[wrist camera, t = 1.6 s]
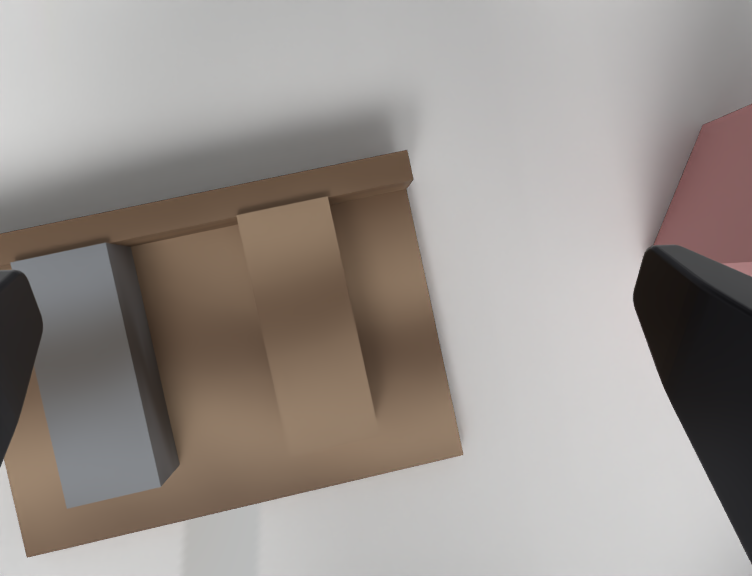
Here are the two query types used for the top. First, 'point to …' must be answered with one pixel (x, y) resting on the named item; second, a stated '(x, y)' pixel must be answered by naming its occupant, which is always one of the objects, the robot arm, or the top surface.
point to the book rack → (225, 353)
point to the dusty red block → (716, 195)
